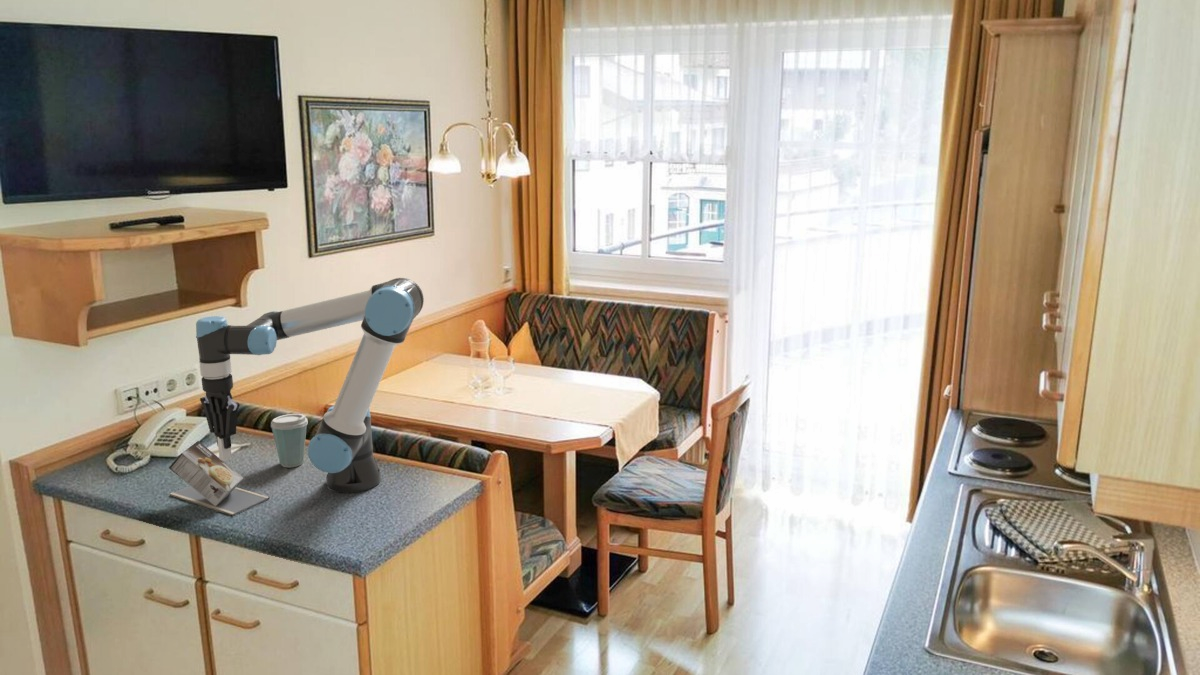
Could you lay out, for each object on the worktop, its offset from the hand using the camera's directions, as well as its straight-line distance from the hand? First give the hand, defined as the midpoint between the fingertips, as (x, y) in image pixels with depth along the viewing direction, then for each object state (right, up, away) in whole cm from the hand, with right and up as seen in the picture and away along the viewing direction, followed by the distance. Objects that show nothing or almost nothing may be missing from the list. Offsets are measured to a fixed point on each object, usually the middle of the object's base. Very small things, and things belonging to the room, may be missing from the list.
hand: (225, 458), depth 245 cm
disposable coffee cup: (+8, -6, +29) cm, 31 cm away
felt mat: (-4, -11, +6) cm, 13 cm away
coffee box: (0, -10, +2) cm, 10 cm away
